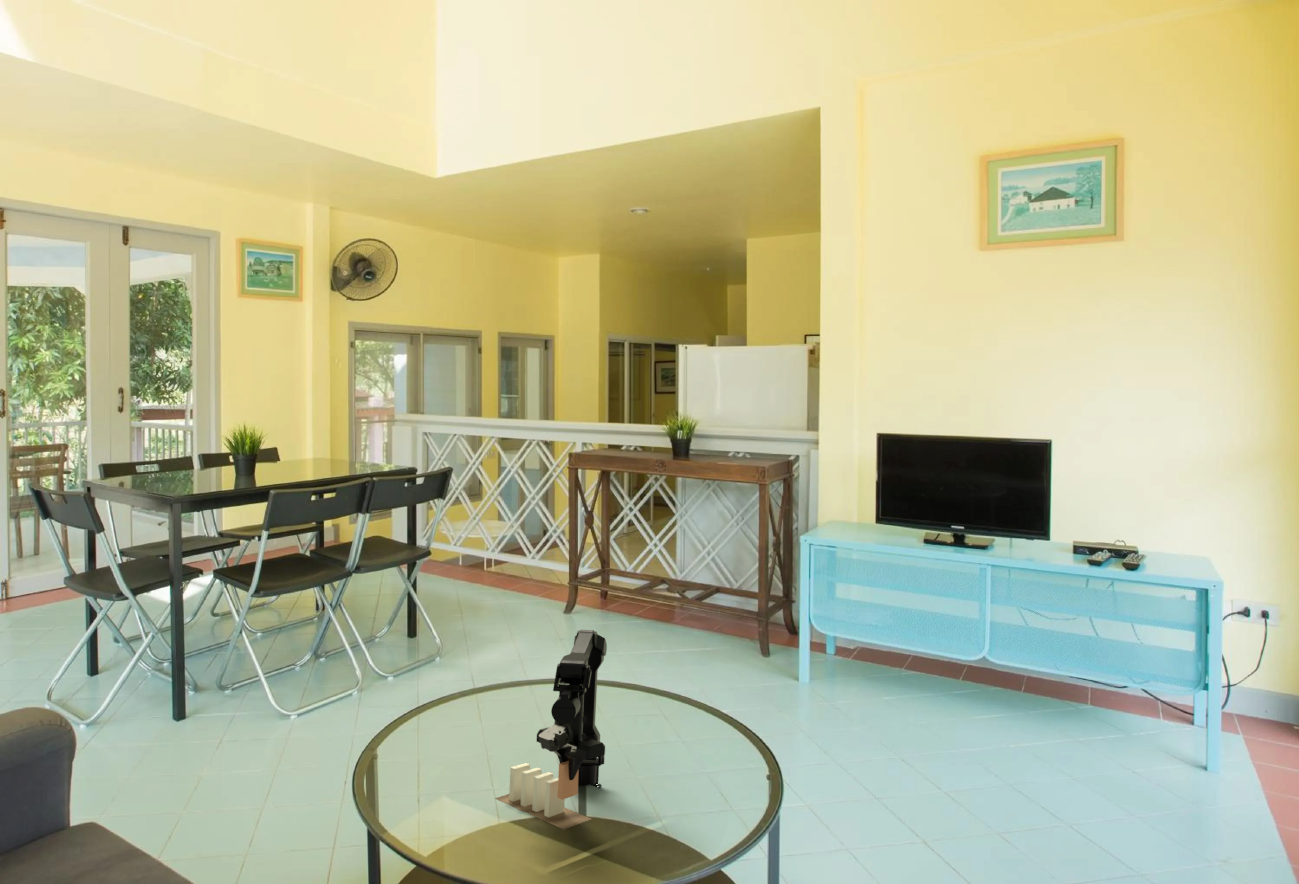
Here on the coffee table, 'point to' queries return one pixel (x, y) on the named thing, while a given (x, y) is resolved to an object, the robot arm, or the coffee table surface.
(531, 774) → the ivory domino
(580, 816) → the walnut board
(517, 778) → the ivory domino
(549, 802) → the ivory domino
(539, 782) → the ivory domino
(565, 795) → the terracotta domino
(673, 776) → the coffee table surface
